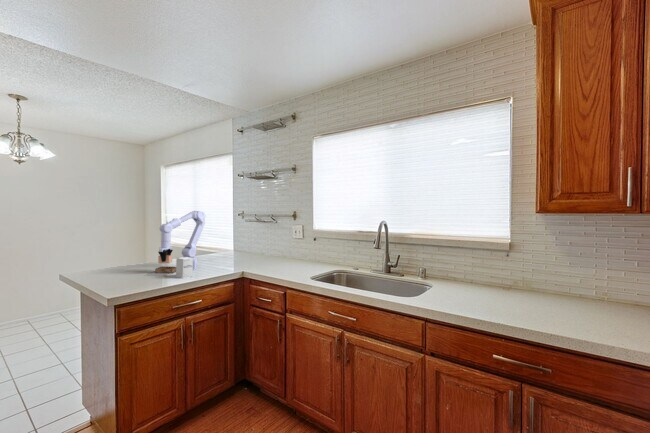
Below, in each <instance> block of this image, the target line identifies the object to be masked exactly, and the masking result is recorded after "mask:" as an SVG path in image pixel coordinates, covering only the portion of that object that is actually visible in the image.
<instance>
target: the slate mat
mask: <svg viewBox="0 0 650 433" xmlns="http://www.w3.org/2000/svg"><path fill="white" fill-rule="evenodd" d="M168 275H169V274H167V273H155V270H153V271H152V272H150V273H147V274H145V275H143V276H151V277H165V276H168Z"/></svg>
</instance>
